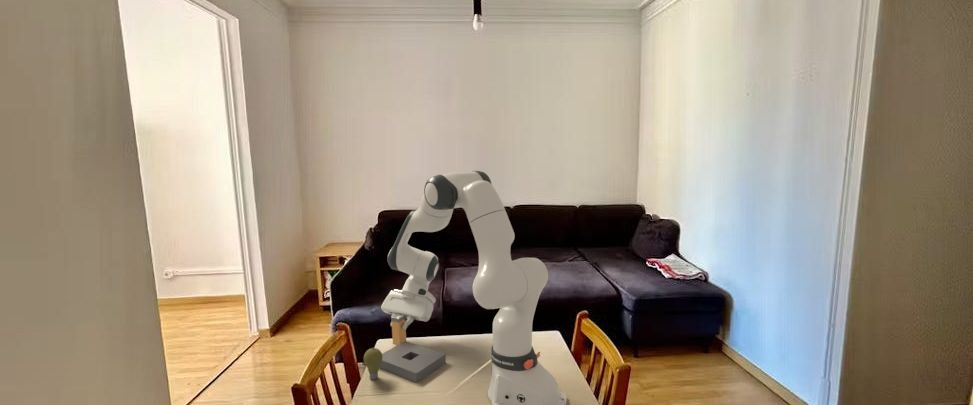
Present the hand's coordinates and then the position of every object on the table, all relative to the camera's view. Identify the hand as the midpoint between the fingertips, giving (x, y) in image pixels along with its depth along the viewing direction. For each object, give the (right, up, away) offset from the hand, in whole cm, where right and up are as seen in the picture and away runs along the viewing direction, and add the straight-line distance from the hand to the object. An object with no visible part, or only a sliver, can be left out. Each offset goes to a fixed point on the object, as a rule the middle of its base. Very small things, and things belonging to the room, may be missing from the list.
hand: (397, 327), depth 151 cm
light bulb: (-3, -10, -20) cm, 23 cm away
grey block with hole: (+7, -9, -12) cm, 17 cm away
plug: (0, -6, +1) cm, 6 cm away
